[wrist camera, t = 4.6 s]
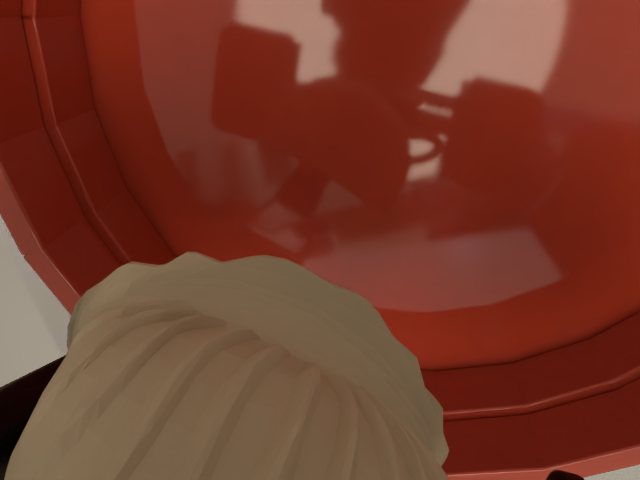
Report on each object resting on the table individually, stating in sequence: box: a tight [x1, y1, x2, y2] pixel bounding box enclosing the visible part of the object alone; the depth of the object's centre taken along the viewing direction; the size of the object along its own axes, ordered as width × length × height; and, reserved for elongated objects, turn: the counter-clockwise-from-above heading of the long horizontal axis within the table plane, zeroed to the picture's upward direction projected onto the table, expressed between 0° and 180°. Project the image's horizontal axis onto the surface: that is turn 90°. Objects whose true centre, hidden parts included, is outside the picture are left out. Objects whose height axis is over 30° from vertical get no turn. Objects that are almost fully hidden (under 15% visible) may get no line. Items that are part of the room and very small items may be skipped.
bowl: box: [0, 0, 640, 480], centre depth 12 cm, size 21×21×4 cm
